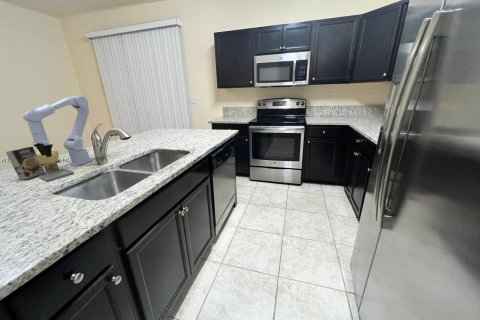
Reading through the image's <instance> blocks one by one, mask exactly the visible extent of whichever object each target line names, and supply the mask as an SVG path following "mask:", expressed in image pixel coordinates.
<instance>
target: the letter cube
mask: <svg viewBox="0 0 480 320" xmlns="http://www.w3.org/2000/svg"><path fill="white" fill-rule="evenodd" d="M42 167H43V169H44V171H45V174H47V173H50V172H54V171H58V170H60V168H59V165H58V163H57V162H52V163H48V164H44V165H43V164H42Z"/></svg>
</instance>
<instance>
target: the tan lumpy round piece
mask: <svg viewBox="0 0 480 320" xmlns="http://www.w3.org/2000/svg"><path fill="white" fill-rule="evenodd" d="M35 152H36V155H37V157H38V159H39V161H40V163H41V165H42V166H43V165H44V164H48V163H52V162H55V163H57V162H58V160H59V158H60V155H59V152H58V149H57V148H53V147H52V156H51V157H46V156H45V155H43V156H42V155H41V154H40V152H39V151H38V150H37V151H35Z"/></svg>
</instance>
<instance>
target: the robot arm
mask: <svg viewBox="0 0 480 320" xmlns="http://www.w3.org/2000/svg"><path fill="white" fill-rule="evenodd" d="M67 106H71V107H72V108H74V109H75V110H76V111H77V114H76V118H75V121H74V125H73V128H72V130H71V133H70V135H69V136H68V137H67V138H66V140H65V141H64V142H63V147H64V148H65V149H66V150H67V152H68V155H69V156H68V157H69V158H70V161H71V163H69V165H71V166H73V167H77V166H80V165H84V164H87V163H90V162H92V160H91V158H90V157H91V156H90V154H89V151H88V150H87V149H86V148H84V145H83V142H84V139H83V133H84V131H85V127H86V123H87V122H88V121H87V120H88V117H89V114H90V109H89V101H88V99H87V98H86V97H85V96H83V95H70V96H67V97H65V98H62V99H60V100H58V101H56V102H54V103H52V104H47V103H43V104H40V106H38V107H36V108H34V107H33V108H31V110H26V111H25V112H24V113H23V116H22V118H23V120H24V121H25V122H27V124H28V125H27V126H28V127H29V130H30V134H31V136H32V139H33V141H31V144H33V147H34V148H36V149H37V151H39V152H40V154H41V155H42V156H43V155H45V156H46V157H51V156H52V148H53V144H51V143H50V142H49V141H50V140H49V139H48V136H47V132H46V129H45V127H44V124H43V121H42V120H43V119H45V118H47V117H49V116H52V115H54V114H55V112H56V110H58V109H61V108H63V107H67Z"/></svg>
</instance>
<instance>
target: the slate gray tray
mask: <svg viewBox="0 0 480 320" xmlns="http://www.w3.org/2000/svg"><path fill="white" fill-rule="evenodd" d="M72 175H75V173H74V171H73V170H70V169H67V168H62V169H59V170H58V171H54V172H50V173H43V174H40V175H38V177H39V179H41V180H43V181H44V182H47V183H49V182H52V181H55V180H59V179H62V178H65V177H68V176H72Z"/></svg>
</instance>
